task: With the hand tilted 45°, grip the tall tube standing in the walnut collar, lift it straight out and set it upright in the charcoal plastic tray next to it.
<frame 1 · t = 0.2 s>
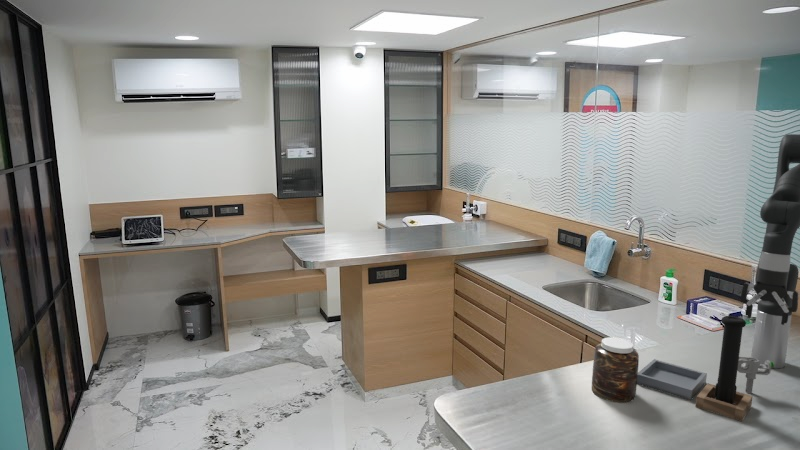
hand: (765, 320, 168), 18 cm above the countertop, tool pointing down, fingers open, 8 cm apart
mechanical component: (748, 393, 160), on the countertop
tray: (670, 383, 165), on the countertop
tube: (723, 407, 152), resting in collar
collar: (723, 406, 152), on the countertop
jar: (613, 393, 159), on the countertop
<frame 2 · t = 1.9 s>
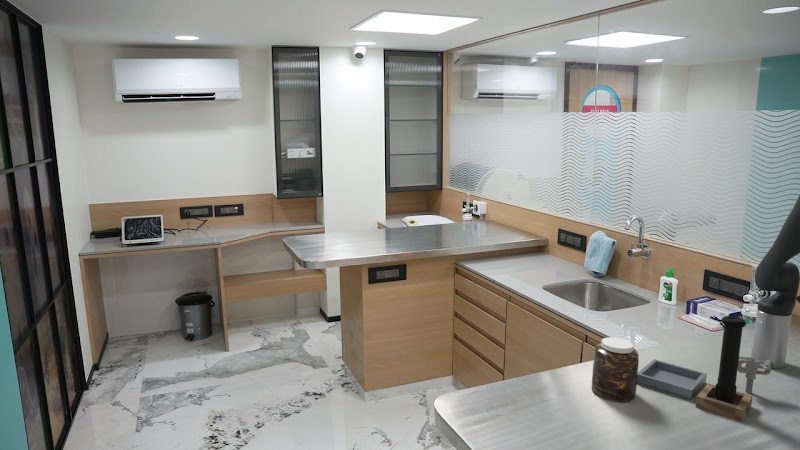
nothing on the countertop moved.
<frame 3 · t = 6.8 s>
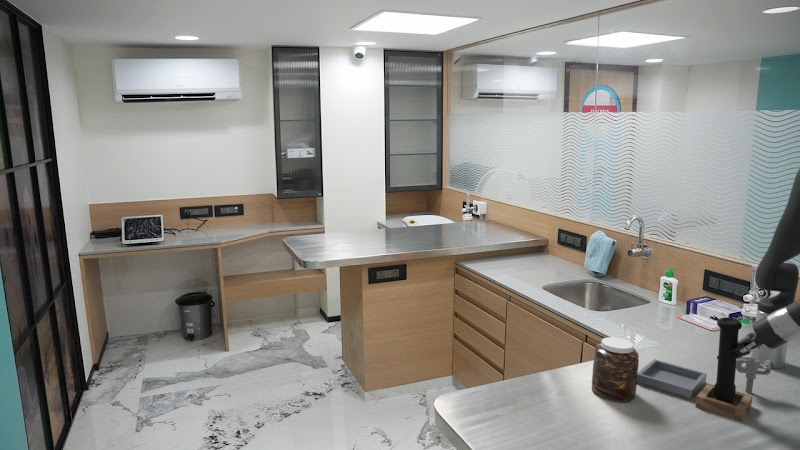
hand: (720, 359, 151), 13 cm above the countertop, tool tilted 45°, fingers closed on tube
tube: (723, 406, 152), resting in collar, touching gripper
everything else where it was.
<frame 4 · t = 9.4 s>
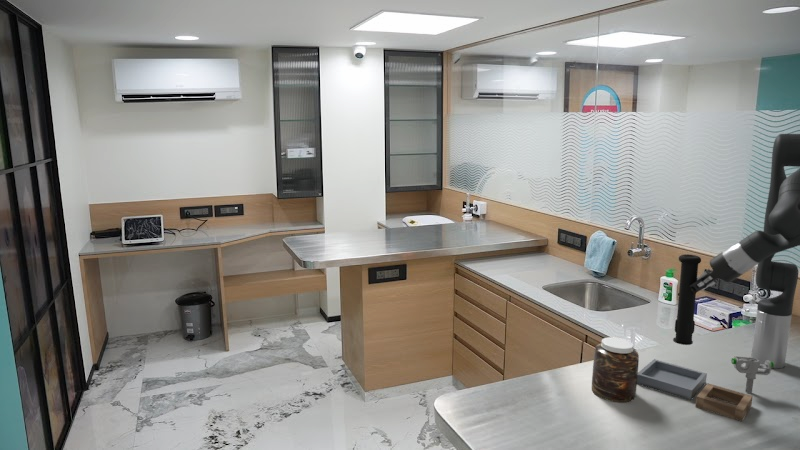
hand: (680, 296, 160), 27 cm above the countertop, tool tilted 45°, fingers closed on tube
tube: (683, 342, 159), point 14 cm above the countertop, touching gripper
everything else where it was.
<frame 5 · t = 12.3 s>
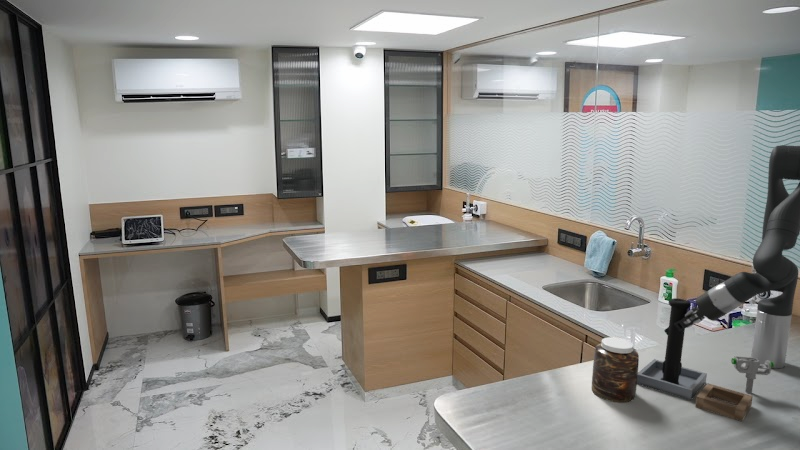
hand: (668, 331, 164), 15 cm above the countertop, tool tilted 45°, fingers closed
tube: (669, 383, 164), point 1 cm above the countertop, touching tray
everything else where it was.
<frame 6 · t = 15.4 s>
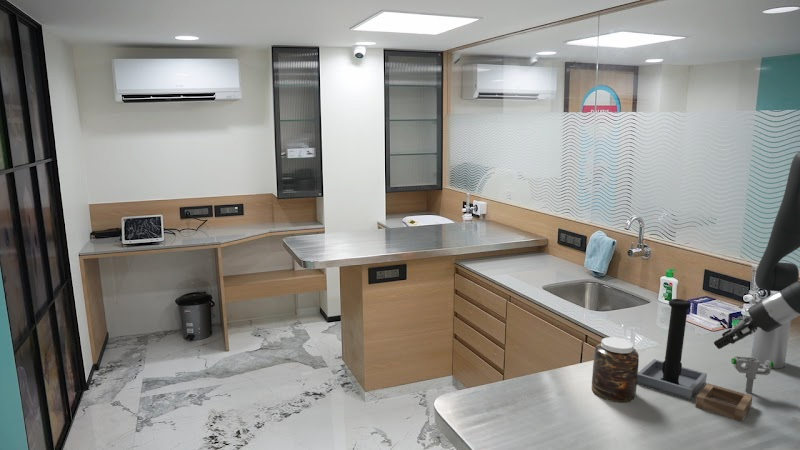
hand: (720, 341, 155), 16 cm above the countertop, tool tilted 45°, fingers open, 8 cm apart
nothing on the countertop moved.
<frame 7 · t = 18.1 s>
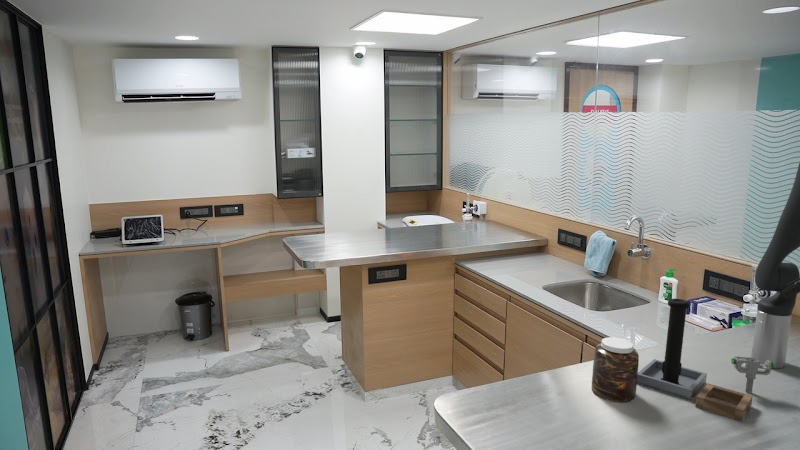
hand: (786, 292, 145), 33 cm above the countertop, tool tilted 45°, fingers open, 8 cm apart
nothing on the countertop moved.
at the end: tube inside the target area on the tray (1.6 cm from its centre), point 0.6 cm above the tray's base; tube tilted 1°; the gripper is holding nothing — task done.
